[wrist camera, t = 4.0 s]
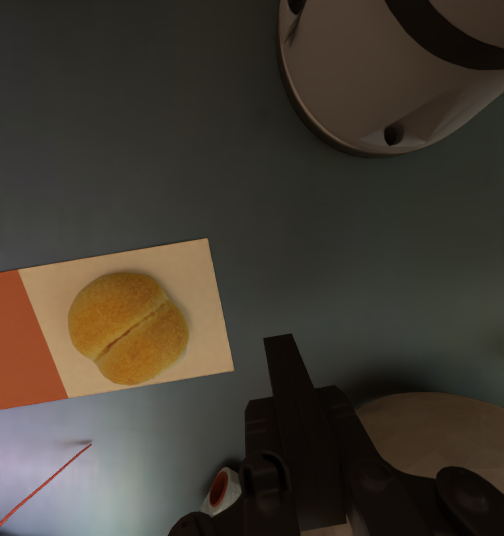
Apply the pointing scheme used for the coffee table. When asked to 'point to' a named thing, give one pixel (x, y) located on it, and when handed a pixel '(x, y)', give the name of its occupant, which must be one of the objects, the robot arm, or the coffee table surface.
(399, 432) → the bowl
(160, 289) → the bread roll
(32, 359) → the placemat
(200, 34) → the coffee table surface
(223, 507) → the aluminum foil
